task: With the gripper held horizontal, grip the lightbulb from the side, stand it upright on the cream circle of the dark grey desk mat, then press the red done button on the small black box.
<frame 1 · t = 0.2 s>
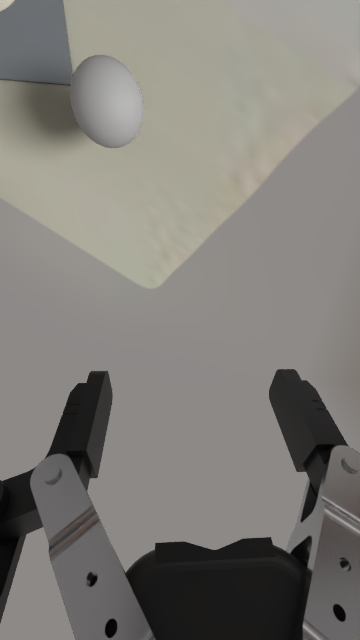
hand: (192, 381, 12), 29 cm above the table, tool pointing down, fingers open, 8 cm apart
lightbulb: (123, 113, 29), on the table
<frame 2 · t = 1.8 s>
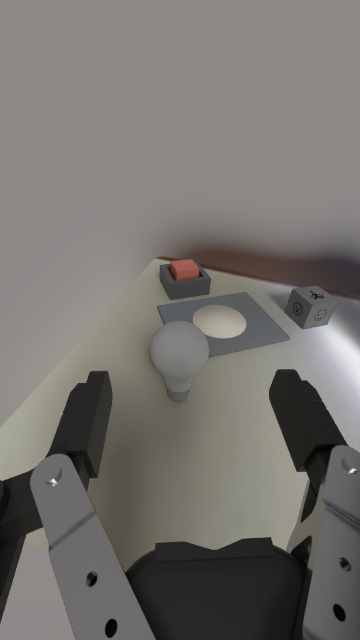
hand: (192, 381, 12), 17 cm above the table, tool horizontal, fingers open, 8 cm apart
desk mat: (218, 322, 43), on the table
done button: (184, 270, 50), point 4 cm above the table, slide at 0.0 cm
button box: (183, 286, 52), on the table
lightbulb: (177, 396, 32), on the table
dice cube: (304, 319, 45), on the table
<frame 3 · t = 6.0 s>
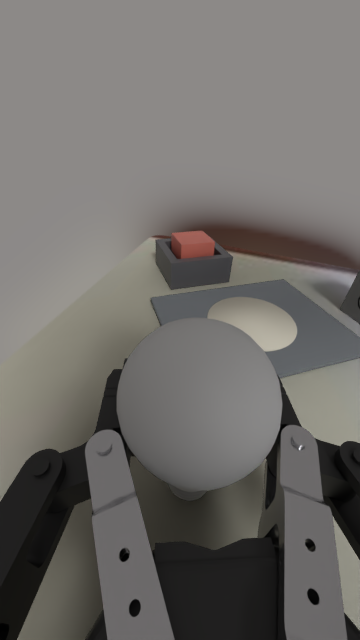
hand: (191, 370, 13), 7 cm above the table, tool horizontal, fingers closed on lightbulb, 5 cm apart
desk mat: (249, 324, 27), on the table
done button: (192, 246, 34), point 4 cm above the table, slide at 0.0 cm
button box: (190, 271, 36), on the table
lightbulb: (187, 481, 15), on the table, touching gripper
when the fingers open (8 cm above the table, at t = 11.3 s): lightbulb stays where it is, resting on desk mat.
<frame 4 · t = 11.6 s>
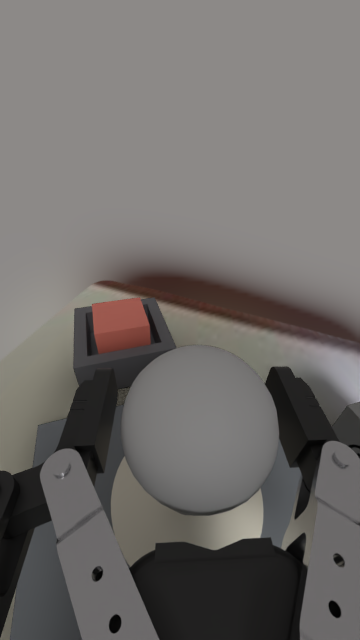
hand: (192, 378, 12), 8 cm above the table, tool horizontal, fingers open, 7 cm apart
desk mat: (186, 492, 16), on the table
done button: (120, 324, 23), point 4 cm above the table, slide at 0.0 cm
button box: (125, 354, 25), on the table
lightbulb: (186, 495, 15), resting on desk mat
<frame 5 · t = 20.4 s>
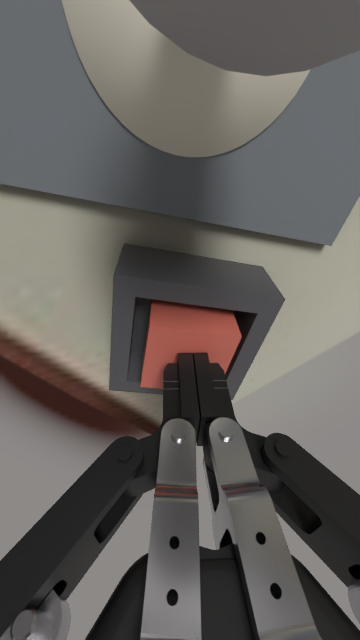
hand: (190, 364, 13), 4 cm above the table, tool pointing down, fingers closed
done button: (185, 347, 14), point 3 cm above the table, slide at 0.4 cm, touching gripper
button box: (182, 312, 17), on the table
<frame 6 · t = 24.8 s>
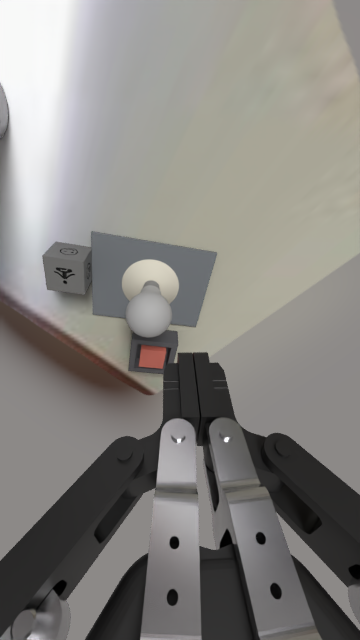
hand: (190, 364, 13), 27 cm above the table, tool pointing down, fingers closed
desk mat: (150, 284, 41), on the table
done button: (152, 354, 47), point 3 cm above the table, slide at 1.1 cm
button box: (153, 344, 49), on the table
lightbulb: (151, 284, 40), resting on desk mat
dice cube: (75, 260, 38), on the table
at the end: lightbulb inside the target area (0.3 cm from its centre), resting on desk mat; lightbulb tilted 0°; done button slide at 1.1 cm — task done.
